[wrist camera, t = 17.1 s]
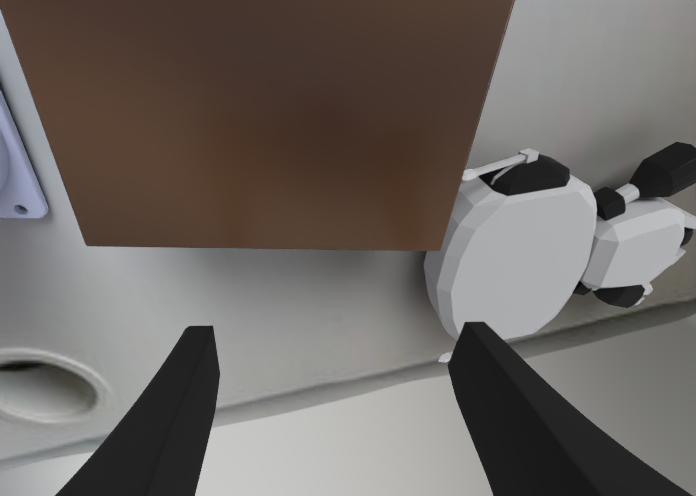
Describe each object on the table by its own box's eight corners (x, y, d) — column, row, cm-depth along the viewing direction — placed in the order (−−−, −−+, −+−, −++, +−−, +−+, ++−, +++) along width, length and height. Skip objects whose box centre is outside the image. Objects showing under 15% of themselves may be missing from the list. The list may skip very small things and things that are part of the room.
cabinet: (58, -339, 10) (-309, -830, 4) (470, -245, 12) (660, -482, 6) (156, 154, 17) (85, 247, 11) (395, 166, 19) (441, 252, 13)
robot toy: (688, 102, 20) (415, 143, 18) (784, 129, 16) (453, 184, 15) (610, 278, 27) (410, 319, 25) (665, 324, 23) (435, 375, 22)
